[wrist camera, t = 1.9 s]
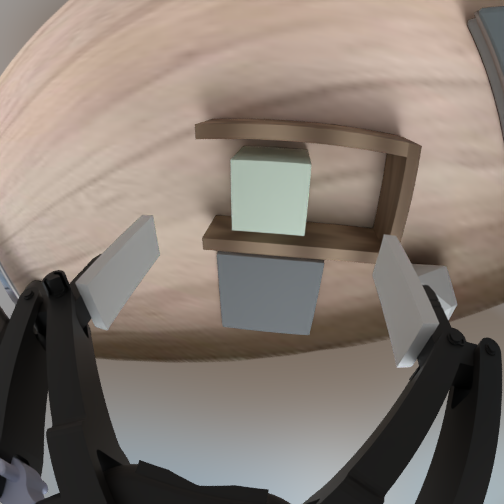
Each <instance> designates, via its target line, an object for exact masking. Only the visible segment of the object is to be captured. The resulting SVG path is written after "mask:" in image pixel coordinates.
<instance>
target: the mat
mask: <svg viewBox="0 0 504 504" xmlns="http://www.w3.org/2000/svg"><path fill="white" fill-rule="evenodd" d="M217 264H218V278H219V290H220V302H221V313H222V324H223V327H230V328H239V329H247V330H256V331H266V332H276V333H288V334H301V335H309V333H310V329H311V325H312V320H313V316H314V312H315V307H316V302H317V298H318V293H319V288H320V283H321V278H322V273H323V268H324V260H317V259H305V258H293V257H281V256H269V255H257V254H245V253H233V252H222V251H218V252H217Z"/></svg>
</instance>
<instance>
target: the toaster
mask: <svg viewBox="0 0 504 504" xmlns="http://www.w3.org/2000/svg"><path fill="white" fill-rule="evenodd" d="M474 14H475V18H474V19H470V20H468V23H467V24H468V27H469V30H470V32H471V34H472V36H473V38H474V41H475V43H476V45H477V48H478V50H479V53H480V55H481V58H482V60H483V63H484V66H485V69H486V71H487V74H488V77H489V80H490V84H491V87H492V90H493V94H494V97H495V101H496V105H497V109H498V113H499V117H500V122H501V127H502V132H503V138H504V6H500V7H488V8H482V9H480V10H479V11H477V12H475V13H474Z"/></svg>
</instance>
